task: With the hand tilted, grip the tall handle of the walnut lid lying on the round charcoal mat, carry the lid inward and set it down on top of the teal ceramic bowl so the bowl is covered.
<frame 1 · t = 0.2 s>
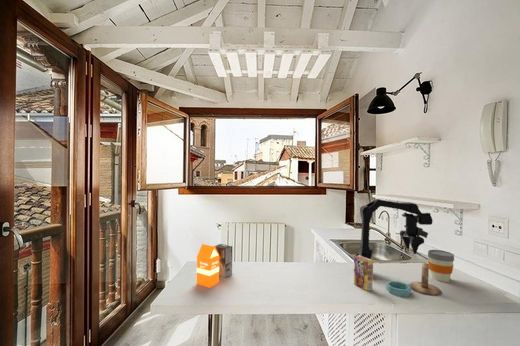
hand: (411, 251, 157), 14 cm above the table, tool pointing down, fingers open, 9 cm apart
candy box: (363, 287, 141), on the table
reusable coffee cup: (439, 279, 154), on the table
bowl: (398, 292, 136), on the table
orange juice: (207, 283, 142), on the table
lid: (425, 276, 139), on the mat
coffee box: (222, 274, 154), on the table
mat: (424, 289, 139), on the table
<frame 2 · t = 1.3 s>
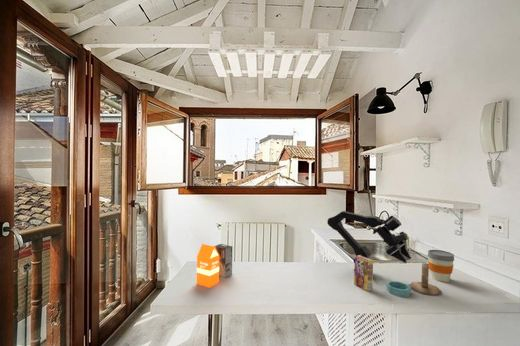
hand: (408, 260, 144), 13 cm above the table, tool tilted 45°, fingers open, 9 cm apart
nothing on the table moved.
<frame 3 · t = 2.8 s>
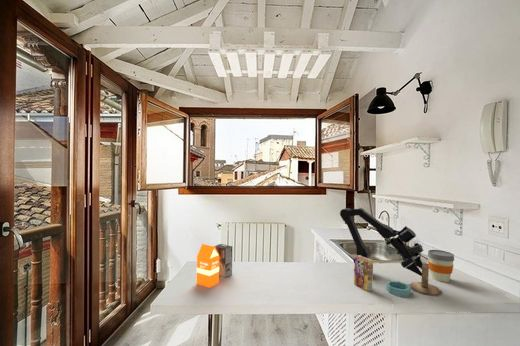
hand: (423, 272, 139), 9 cm above the table, tool tilted 45°, fingers open, 9 cm apart
nothing on the table moved.
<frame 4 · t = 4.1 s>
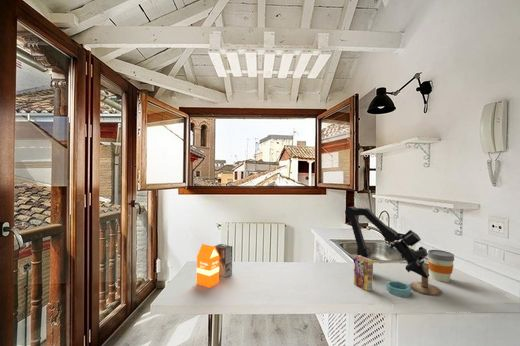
hand: (428, 277, 138), 7 cm above the table, tool tilted 45°, fingers closed on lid, 3 cm apart
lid: (425, 276, 139), on the mat, touching gripper
everything else where it was.
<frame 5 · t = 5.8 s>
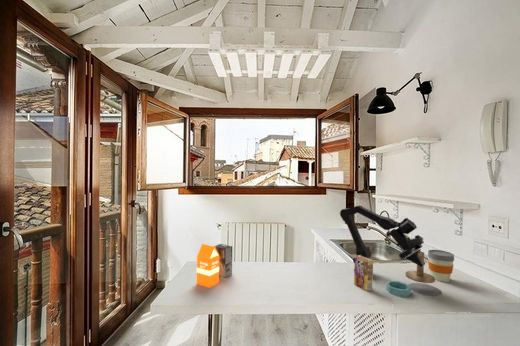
hand: (423, 265, 137), 13 cm above the table, tool tilted 45°, fingers closed on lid, 3 cm apart
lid: (420, 264, 138), point 13 cm above the table, touching gripper
everything else where it was.
when the fingers open (11 cm above the table, at t = 7.5 s): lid drops 1 cm, resting on bowl.
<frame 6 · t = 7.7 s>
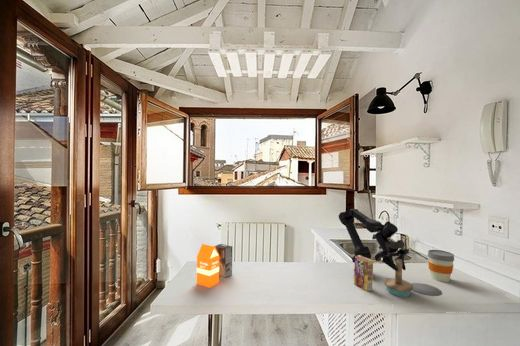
hand: (401, 270, 134), 12 cm above the table, tool tilted 45°, fingers open, 5 cm apart
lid: (398, 272, 136), on the bowl, point 10 cm above the table
everything else where it was.
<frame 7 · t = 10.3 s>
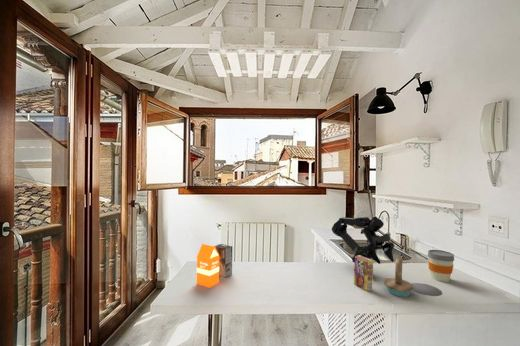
hand: (386, 262, 143), 12 cm above the table, tool tilted 45°, fingers open, 9 cm apart
nothing on the table moved.
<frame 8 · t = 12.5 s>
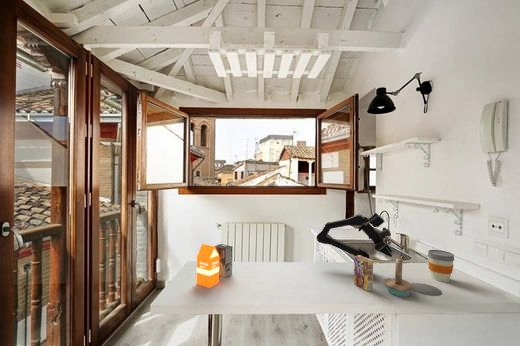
hand: (391, 254, 154), 14 cm above the table, tool tilted 45°, fingers open, 9 cm apart
nothing on the table moved.
at the end: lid 0.0 cm off-centre on the bowl, point 10.0 cm above the bowl's base; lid tilted 0°; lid touching bowl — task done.
